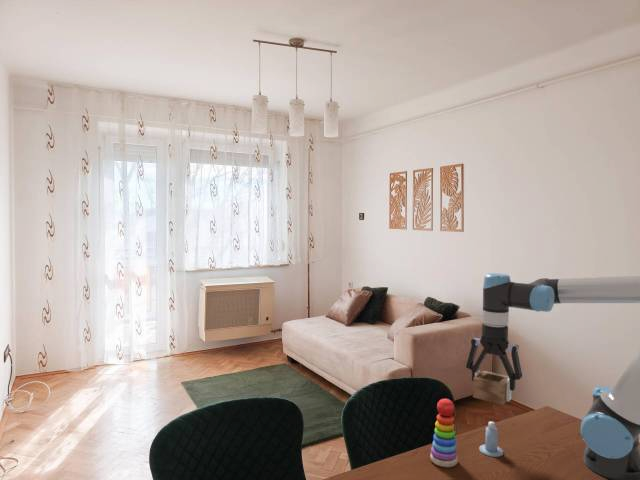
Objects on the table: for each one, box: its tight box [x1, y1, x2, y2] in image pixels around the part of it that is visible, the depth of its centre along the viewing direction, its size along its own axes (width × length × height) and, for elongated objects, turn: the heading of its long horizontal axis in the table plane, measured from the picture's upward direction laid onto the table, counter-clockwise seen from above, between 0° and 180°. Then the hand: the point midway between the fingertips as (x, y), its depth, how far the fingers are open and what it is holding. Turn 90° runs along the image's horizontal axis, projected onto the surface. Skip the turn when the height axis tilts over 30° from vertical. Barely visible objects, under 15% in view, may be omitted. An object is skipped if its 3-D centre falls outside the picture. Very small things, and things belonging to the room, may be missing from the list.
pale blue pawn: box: [478, 421, 504, 458], centre depth 144 cm, size 7×7×9 cm
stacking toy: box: [429, 398, 459, 468], centre depth 137 cm, size 8×8×19 cm
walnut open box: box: [472, 370, 513, 406], centre depth 143 cm, size 9×9×6 cm
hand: (492, 395), depth 143 cm, fingers closed on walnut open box, 9 cm apart
